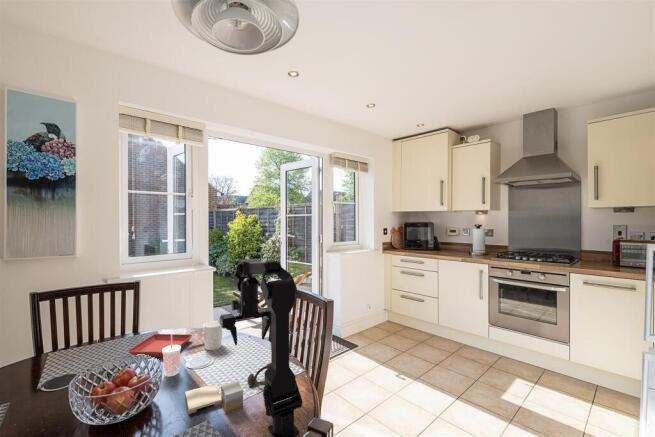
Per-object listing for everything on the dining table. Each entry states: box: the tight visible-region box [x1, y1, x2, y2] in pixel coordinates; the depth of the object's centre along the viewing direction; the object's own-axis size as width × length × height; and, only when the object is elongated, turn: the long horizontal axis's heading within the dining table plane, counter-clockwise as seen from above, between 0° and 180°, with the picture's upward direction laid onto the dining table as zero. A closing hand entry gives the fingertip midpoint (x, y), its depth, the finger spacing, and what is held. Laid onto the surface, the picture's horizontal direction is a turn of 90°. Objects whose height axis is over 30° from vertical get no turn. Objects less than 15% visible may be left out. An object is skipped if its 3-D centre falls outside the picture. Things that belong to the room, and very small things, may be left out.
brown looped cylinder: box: [247, 362, 271, 387], centre depth 104 cm, size 7×13×10 cm
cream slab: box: [184, 383, 222, 415], centre depth 93 cm, size 10×9×2 cm
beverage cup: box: [162, 333, 182, 377], centre depth 109 cm, size 6×6×14 cm
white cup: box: [202, 320, 224, 351], centre depth 131 cm, size 8×8×10 cm
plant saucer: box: [127, 333, 193, 358], centre depth 128 cm, size 18×18×3 cm
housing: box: [220, 380, 244, 415], centre depth 91 cm, size 6×5×6 cm
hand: (249, 342), depth 102 cm, fingers open, 9 cm apart
